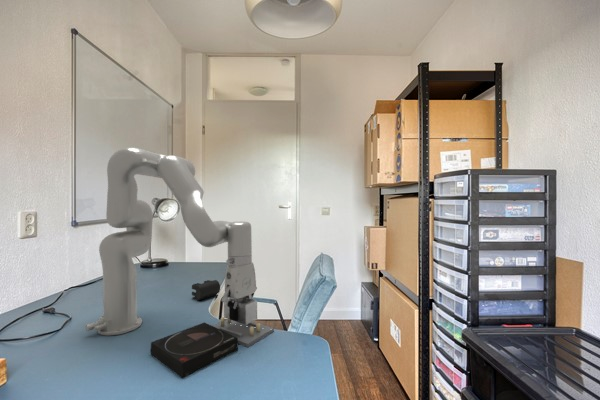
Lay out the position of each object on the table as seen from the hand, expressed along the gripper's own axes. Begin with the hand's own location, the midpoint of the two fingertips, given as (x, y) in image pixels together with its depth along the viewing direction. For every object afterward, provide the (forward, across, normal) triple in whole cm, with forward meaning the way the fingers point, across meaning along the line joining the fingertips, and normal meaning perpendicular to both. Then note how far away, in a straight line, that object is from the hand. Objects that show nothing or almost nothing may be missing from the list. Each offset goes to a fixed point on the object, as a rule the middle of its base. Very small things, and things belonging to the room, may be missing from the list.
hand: (240, 316), depth 93 cm
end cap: (+5, +16, +36) cm, 40 cm away
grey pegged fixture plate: (+5, 0, 0) cm, 5 cm away
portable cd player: (+6, -16, +2) cm, 17 cm away
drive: (+1, 0, 0) cm, 1 cm away
